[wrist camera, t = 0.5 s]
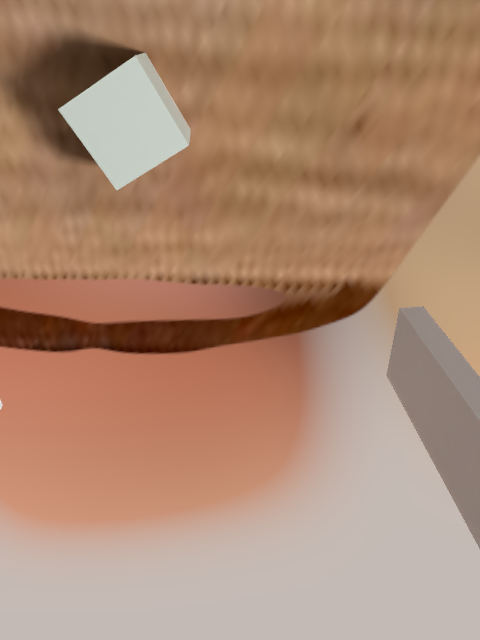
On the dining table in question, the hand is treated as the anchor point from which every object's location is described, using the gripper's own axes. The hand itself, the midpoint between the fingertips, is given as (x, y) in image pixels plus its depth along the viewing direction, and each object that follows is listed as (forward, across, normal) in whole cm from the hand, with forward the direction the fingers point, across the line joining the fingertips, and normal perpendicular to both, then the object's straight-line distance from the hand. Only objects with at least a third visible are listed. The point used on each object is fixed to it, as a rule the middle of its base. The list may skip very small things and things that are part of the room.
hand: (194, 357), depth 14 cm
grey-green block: (+27, -4, +3) cm, 27 cm away
